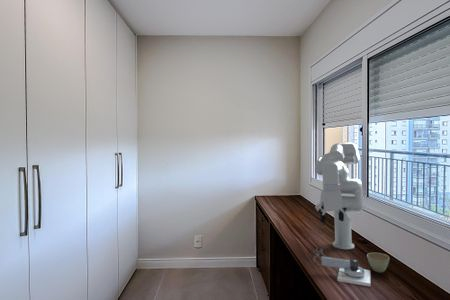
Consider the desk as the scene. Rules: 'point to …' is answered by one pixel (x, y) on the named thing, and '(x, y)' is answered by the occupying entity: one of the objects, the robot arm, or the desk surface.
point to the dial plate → (360, 281)
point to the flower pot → (378, 261)
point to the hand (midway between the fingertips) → (332, 221)
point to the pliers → (318, 253)
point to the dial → (345, 266)
